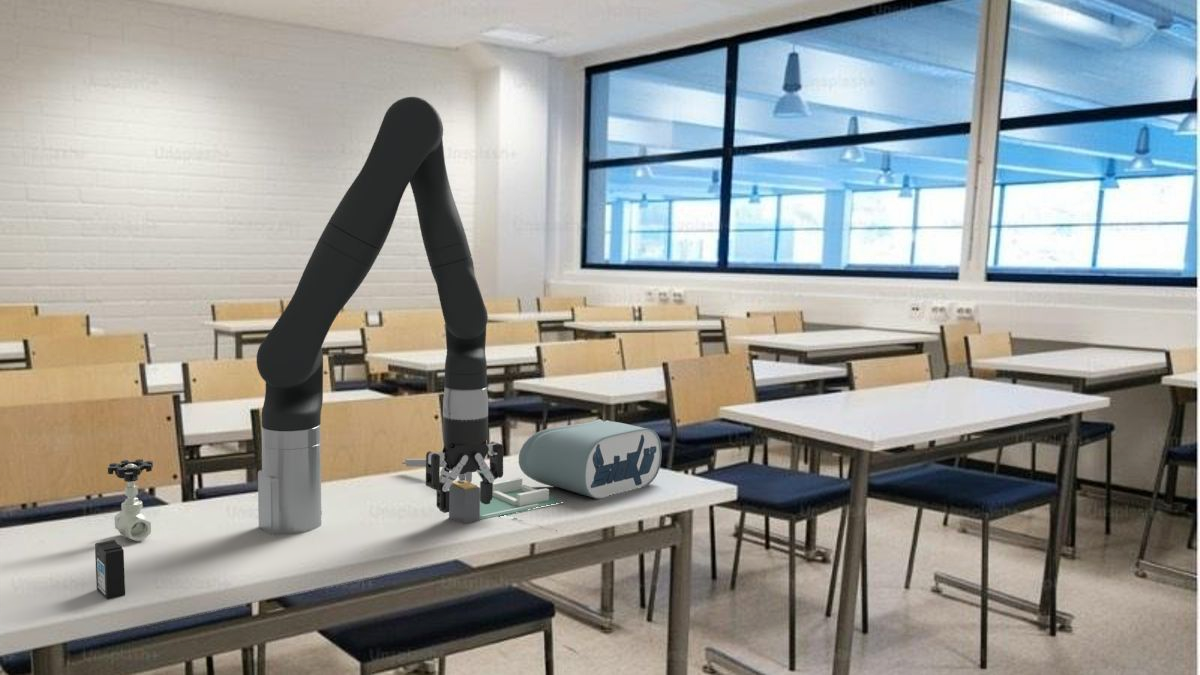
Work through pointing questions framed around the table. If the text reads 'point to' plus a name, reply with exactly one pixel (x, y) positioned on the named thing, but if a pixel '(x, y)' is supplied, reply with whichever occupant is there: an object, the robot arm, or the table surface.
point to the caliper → (423, 464)
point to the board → (514, 499)
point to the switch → (464, 502)
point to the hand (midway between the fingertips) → (465, 507)
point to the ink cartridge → (110, 569)
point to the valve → (131, 500)
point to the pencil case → (593, 457)
